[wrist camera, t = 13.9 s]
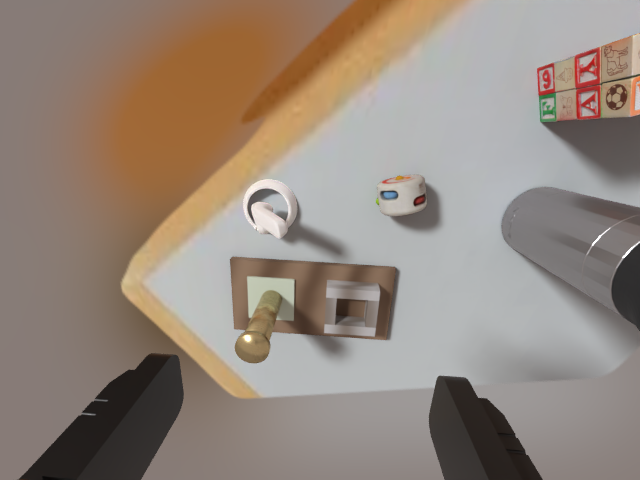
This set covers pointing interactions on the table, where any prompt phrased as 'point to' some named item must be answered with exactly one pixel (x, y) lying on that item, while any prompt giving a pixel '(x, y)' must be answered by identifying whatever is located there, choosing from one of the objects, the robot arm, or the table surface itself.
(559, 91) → the stack of blocks
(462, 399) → the robot arm
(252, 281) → the sage pad
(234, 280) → the walnut board
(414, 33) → the table surface
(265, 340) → the brass peg
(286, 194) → the white vr controller
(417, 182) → the roller toy
